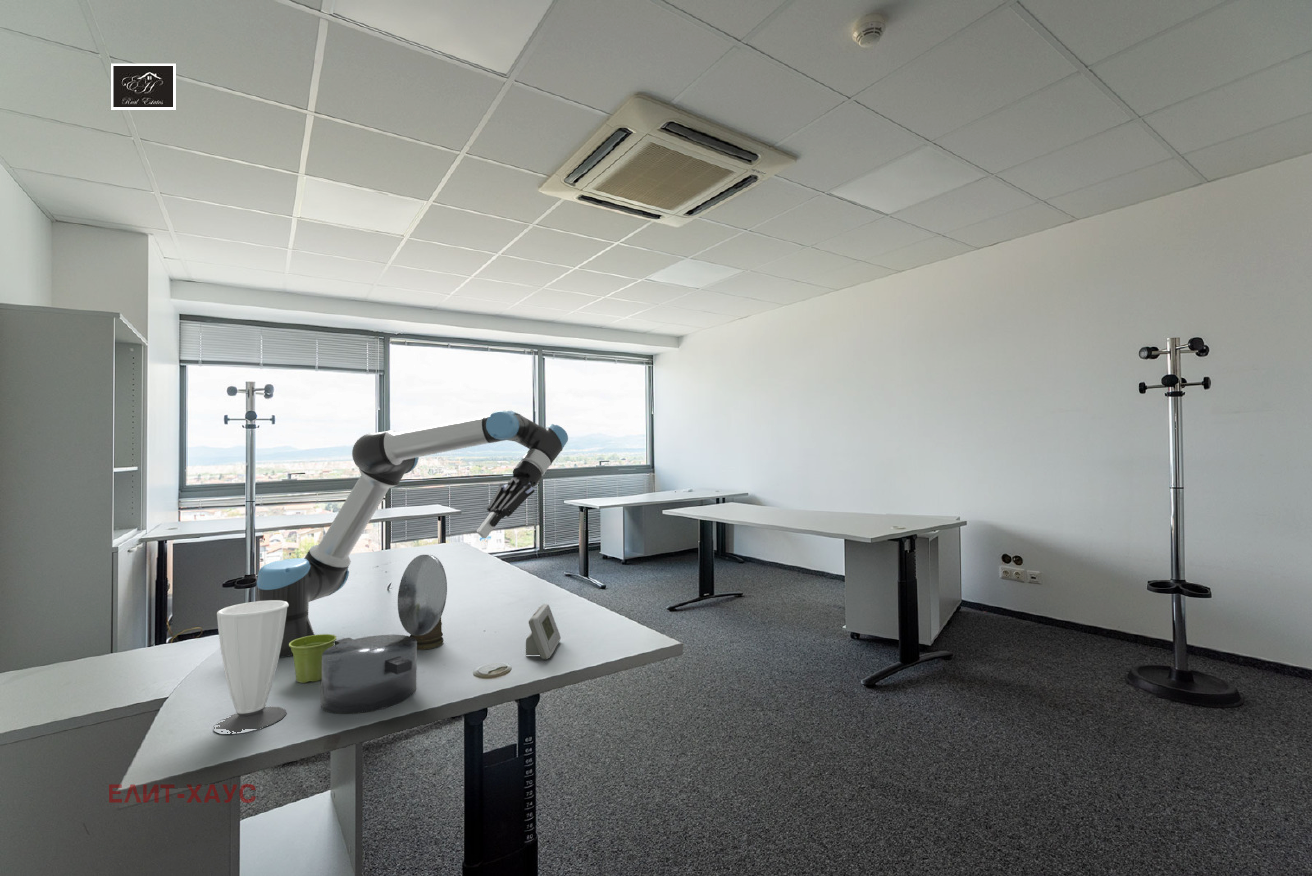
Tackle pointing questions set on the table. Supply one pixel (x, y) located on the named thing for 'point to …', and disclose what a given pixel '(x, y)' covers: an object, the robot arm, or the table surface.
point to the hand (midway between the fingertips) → (481, 534)
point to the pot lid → (422, 595)
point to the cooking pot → (368, 673)
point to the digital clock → (542, 633)
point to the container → (430, 638)
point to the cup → (251, 660)
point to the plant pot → (310, 656)
